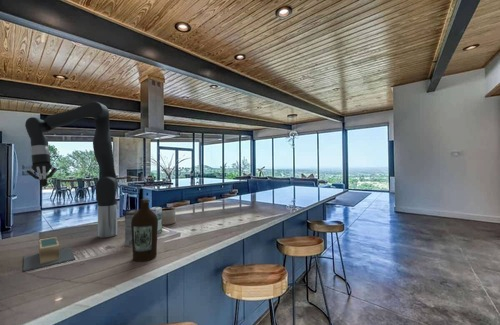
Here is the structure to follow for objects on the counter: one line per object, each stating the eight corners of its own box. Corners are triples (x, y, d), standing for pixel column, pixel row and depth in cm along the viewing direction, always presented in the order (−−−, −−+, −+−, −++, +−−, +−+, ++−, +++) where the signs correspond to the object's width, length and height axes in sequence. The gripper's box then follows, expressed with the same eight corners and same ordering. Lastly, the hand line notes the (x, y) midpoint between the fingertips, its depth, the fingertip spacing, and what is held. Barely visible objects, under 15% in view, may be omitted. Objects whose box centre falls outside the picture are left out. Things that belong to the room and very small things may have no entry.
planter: (155, 225, 156) (155, 210, 156) (163, 221, 167) (163, 207, 167) (170, 225, 155) (170, 211, 155) (178, 221, 165) (178, 207, 165)
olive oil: (134, 253, 107) (134, 198, 107) (159, 251, 109) (159, 197, 109) (128, 263, 96) (128, 201, 96) (156, 260, 99) (155, 200, 99)
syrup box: (156, 234, 136) (156, 208, 136) (147, 233, 137) (147, 208, 137) (162, 231, 142) (162, 207, 142) (153, 230, 143) (153, 206, 143)
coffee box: (132, 240, 126) (131, 209, 126) (144, 239, 126) (144, 209, 127) (124, 245, 117) (124, 213, 117) (137, 245, 117) (137, 212, 117)
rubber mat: (24, 257, 103) (24, 256, 103) (70, 248, 114) (70, 247, 114) (23, 271, 89) (23, 270, 89) (75, 259, 100) (75, 258, 100)
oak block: (39, 239, 107) (40, 248, 95) (56, 236, 111) (59, 245, 99) (39, 252, 107) (40, 263, 95) (56, 249, 111) (59, 259, 99)
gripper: (21, 154, 122) (25, 188, 120) (54, 152, 128) (57, 184, 126) (27, 157, 128) (30, 188, 127) (58, 154, 134) (61, 184, 133)
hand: (44, 186), depth 127 cm, fingers closed
